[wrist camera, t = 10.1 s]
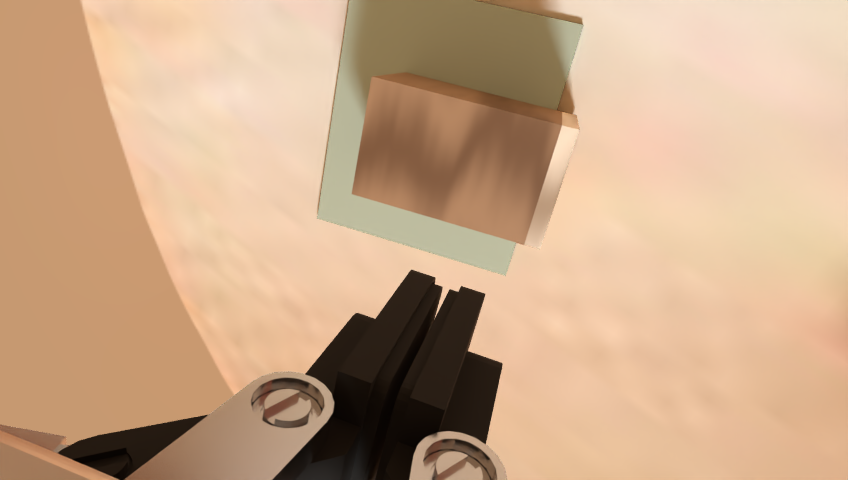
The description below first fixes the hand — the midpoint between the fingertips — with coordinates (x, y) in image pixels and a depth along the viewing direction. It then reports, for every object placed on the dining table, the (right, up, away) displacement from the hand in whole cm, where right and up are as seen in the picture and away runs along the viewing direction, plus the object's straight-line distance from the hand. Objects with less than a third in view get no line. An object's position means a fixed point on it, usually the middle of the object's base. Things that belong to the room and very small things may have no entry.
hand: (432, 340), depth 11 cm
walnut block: (+7, +5, +16) cm, 18 cm away
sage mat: (0, +9, +20) cm, 22 cm away
